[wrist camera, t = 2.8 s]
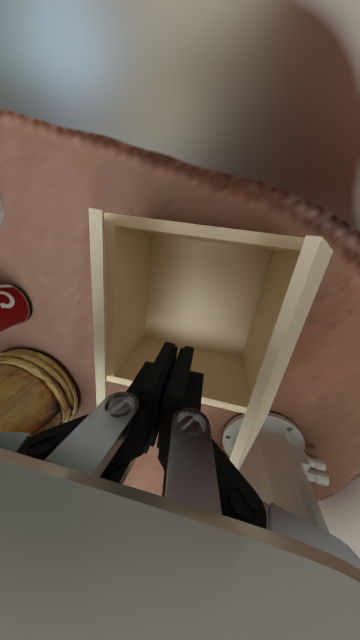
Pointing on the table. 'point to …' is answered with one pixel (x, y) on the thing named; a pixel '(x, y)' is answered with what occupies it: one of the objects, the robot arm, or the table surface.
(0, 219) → the cup
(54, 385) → the tankard
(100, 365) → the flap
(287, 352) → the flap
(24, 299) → the soda can
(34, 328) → the table surface
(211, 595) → the robot arm
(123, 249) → the carton
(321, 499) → the table surface
